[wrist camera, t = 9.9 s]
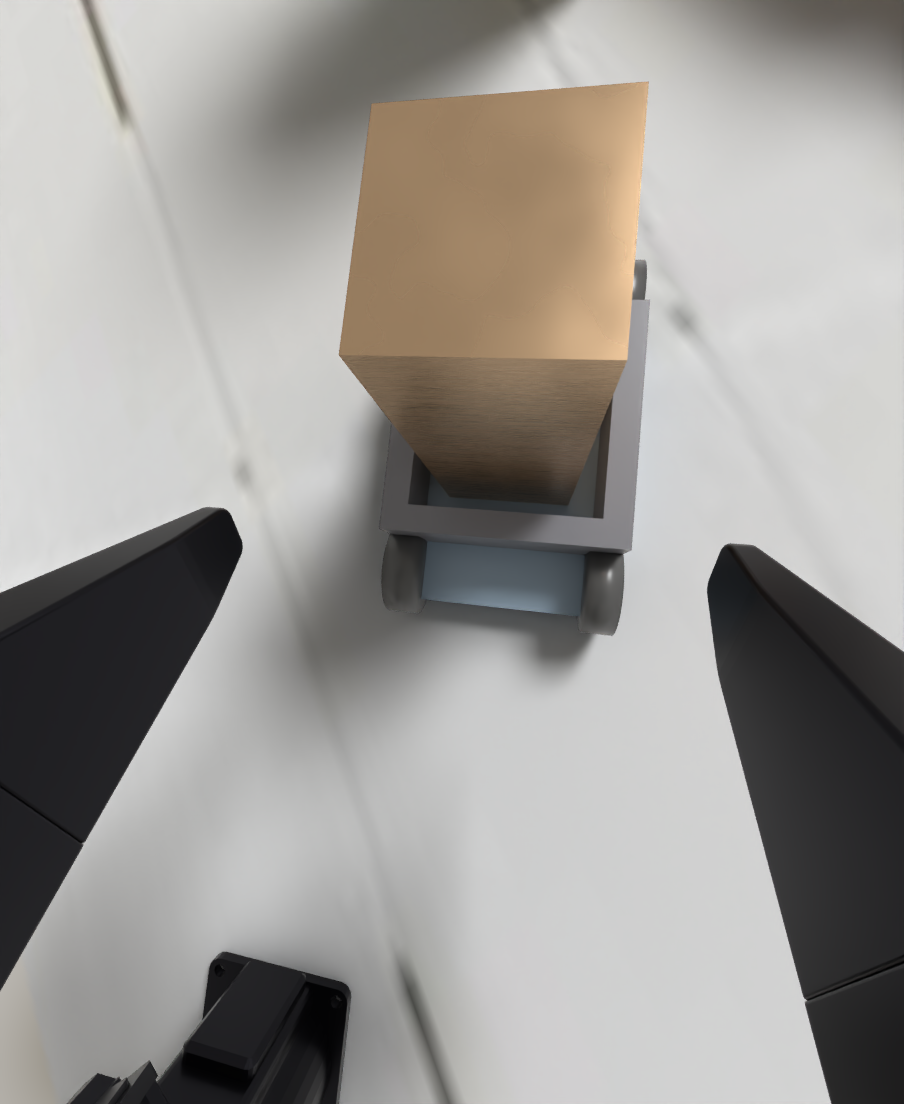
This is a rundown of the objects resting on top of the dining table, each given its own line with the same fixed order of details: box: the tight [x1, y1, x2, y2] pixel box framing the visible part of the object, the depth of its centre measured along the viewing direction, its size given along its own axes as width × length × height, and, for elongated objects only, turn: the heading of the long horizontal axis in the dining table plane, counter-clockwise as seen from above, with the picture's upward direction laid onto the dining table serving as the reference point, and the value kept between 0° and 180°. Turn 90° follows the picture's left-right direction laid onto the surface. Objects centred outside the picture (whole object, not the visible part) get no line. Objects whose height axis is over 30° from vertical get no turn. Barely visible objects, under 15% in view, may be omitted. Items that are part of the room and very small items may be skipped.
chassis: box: [379, 260, 650, 636], centre depth 19 cm, size 15×9×4 cm, turn 174°
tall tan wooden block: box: [339, 82, 649, 505], centre depth 14 cm, size 5×5×12 cm
